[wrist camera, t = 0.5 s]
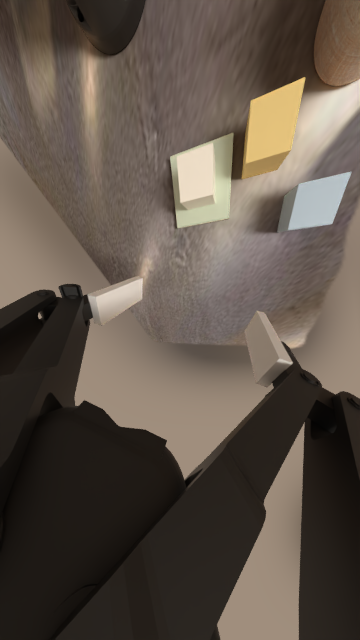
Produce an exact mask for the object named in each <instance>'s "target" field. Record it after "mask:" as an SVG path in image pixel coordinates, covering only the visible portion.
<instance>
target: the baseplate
mask: <svg viewBox="0 0 360 640" xmlns="http://www.w3.org/2000/svg"><path fill="white" fill-rule="evenodd" d="M233 134H234V132H233V133H231V134H228V135H225V136H223V137H220V138H218V139H215V140H212V141H210V142H207V143H205V144H202V145H199V146H197V147H194V148H192V149H189V150H186V151H184V152H181V153H179V154H176V155H173V156H171V157H170V160H171V170H172V180H173V190H174V199H175V209H176V219H177V228H178V229H179V228H184V227H190V226H195V225H200V224H205V223H211V222H216V221H221V220H226V219H229V207H230V189H231V171H232V152H233Z"/></svg>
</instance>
